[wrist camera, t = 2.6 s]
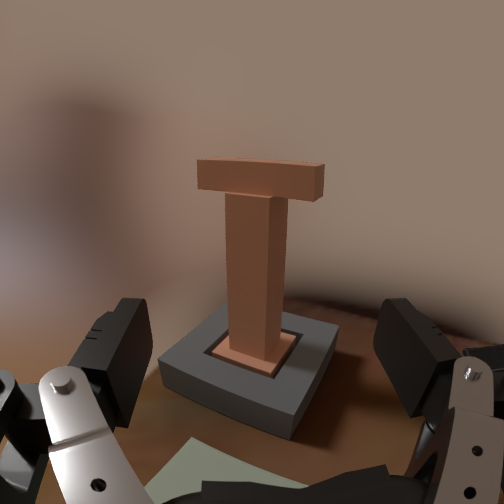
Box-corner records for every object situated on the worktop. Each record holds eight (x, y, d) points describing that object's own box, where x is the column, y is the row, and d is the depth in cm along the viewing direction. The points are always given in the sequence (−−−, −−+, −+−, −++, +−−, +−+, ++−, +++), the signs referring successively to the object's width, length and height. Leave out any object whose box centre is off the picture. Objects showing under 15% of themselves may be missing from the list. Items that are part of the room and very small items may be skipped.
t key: (309, 367, 26) (330, 162, 19) (286, 405, 21) (307, 168, 15) (229, 342, 29) (225, 155, 23) (199, 372, 25) (182, 161, 19)
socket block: (334, 351, 27) (339, 325, 26) (289, 440, 18) (293, 415, 17) (232, 322, 32) (231, 297, 31) (163, 385, 23) (157, 358, 22)
